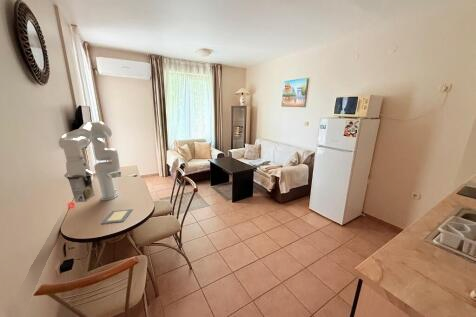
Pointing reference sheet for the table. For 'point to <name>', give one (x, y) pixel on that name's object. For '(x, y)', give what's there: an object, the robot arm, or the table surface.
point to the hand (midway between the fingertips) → (81, 185)
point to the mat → (117, 216)
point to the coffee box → (81, 189)
